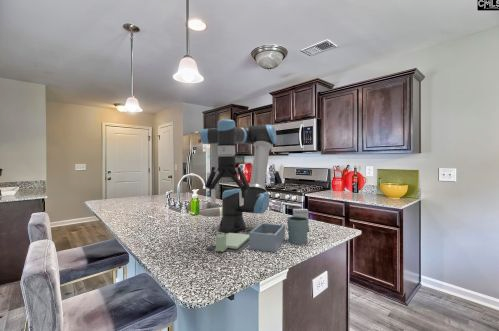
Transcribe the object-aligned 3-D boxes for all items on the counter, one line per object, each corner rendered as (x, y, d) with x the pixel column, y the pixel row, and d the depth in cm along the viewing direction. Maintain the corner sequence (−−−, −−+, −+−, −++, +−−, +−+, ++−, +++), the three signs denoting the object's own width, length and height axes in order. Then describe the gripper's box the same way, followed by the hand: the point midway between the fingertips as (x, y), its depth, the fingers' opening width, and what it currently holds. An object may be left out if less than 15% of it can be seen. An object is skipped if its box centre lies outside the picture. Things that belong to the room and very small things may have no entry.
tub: (249, 250, 110) (249, 232, 109) (261, 238, 126) (261, 223, 126) (275, 254, 105) (275, 235, 105) (284, 241, 122) (284, 225, 122)
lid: (206, 250, 106) (206, 235, 106) (229, 235, 128) (229, 223, 128) (232, 254, 102) (232, 238, 102) (251, 238, 124) (251, 225, 124)
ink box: (307, 228, 145) (307, 208, 145) (308, 231, 141) (308, 210, 140) (292, 228, 146) (292, 208, 146) (293, 230, 141) (293, 209, 141)
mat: (206, 250, 110) (206, 247, 110) (227, 236, 131) (227, 234, 131) (239, 254, 105) (239, 252, 105) (256, 239, 125) (256, 237, 125)
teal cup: (295, 247, 113) (295, 221, 113) (282, 241, 122) (282, 217, 122) (312, 244, 118) (312, 219, 118) (299, 238, 127) (299, 215, 127)
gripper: (197, 156, 109) (197, 204, 110) (250, 155, 100) (250, 208, 101) (206, 156, 116) (206, 201, 117) (256, 155, 107) (257, 204, 108)
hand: (227, 204), depth 109 cm, fingers open, 13 cm apart
